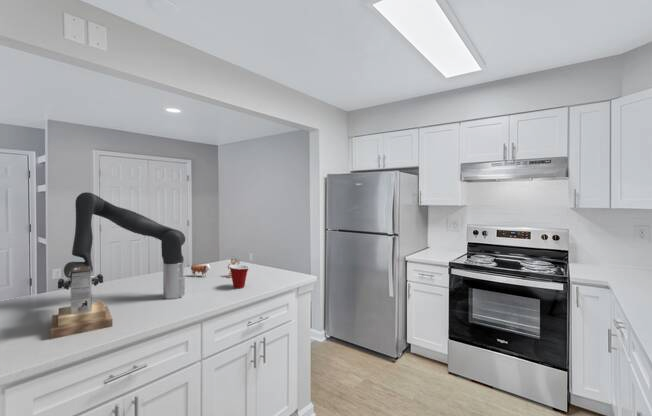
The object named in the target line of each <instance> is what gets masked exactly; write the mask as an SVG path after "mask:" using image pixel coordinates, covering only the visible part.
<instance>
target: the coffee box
mask: <svg viewBox="0 0 652 416" xmlns="http://www.w3.org/2000/svg"><path fill="white" fill-rule="evenodd" d="M92 274H93V272H92V273H91V266H81V267H72V268H71V287H70V306H71V314H76V313H82V312H89V311H91V308H92V303H93V302H92V300H93V299H92V296H93V294H92V293H93V292H92V291H93V289H92V286H93V284H92V276H93V275H92Z"/></svg>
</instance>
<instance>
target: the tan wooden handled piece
mask: <svg viewBox="0 0 652 416" xmlns="http://www.w3.org/2000/svg"><path fill="white" fill-rule="evenodd" d="M231 265H240V259H237V258H236V257H231V259H230V263H229V264H228V265H227V269H228V270H229V272H228V275H225V278H227V279H232V275H231V270H230V267H229V266H231Z"/></svg>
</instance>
